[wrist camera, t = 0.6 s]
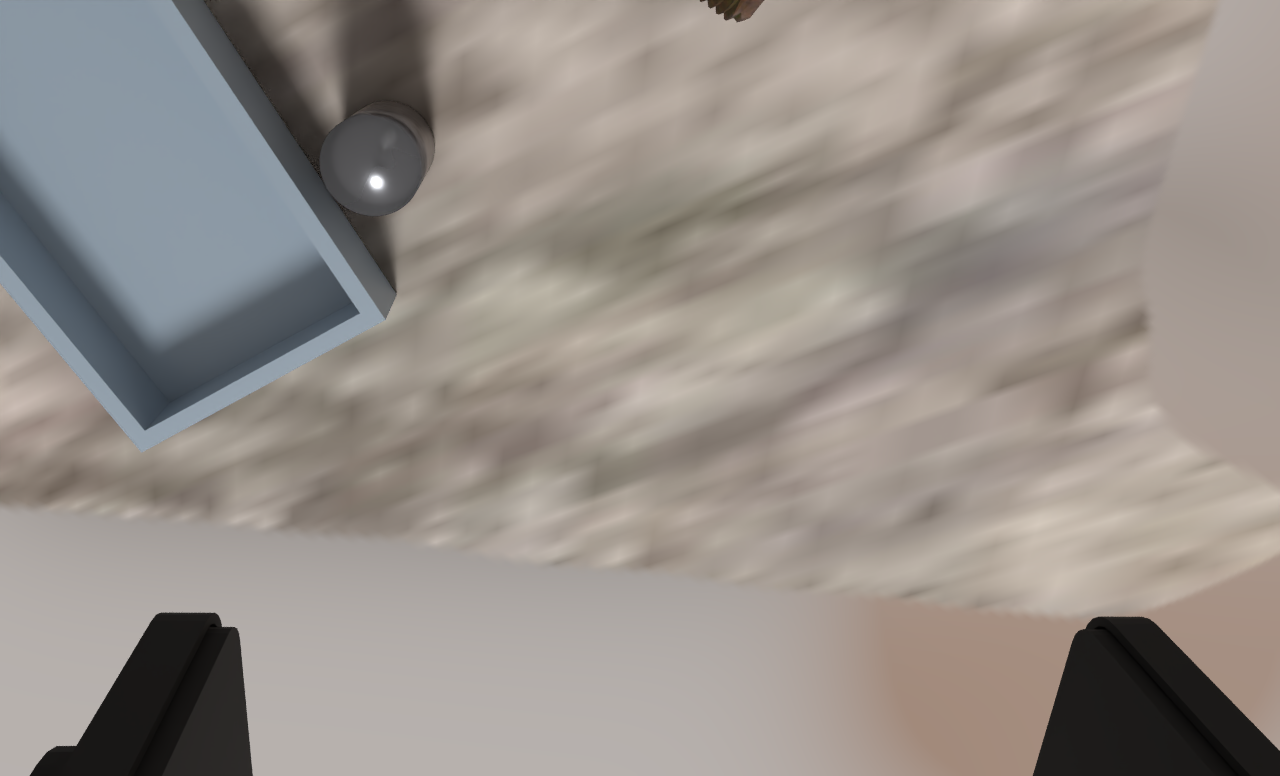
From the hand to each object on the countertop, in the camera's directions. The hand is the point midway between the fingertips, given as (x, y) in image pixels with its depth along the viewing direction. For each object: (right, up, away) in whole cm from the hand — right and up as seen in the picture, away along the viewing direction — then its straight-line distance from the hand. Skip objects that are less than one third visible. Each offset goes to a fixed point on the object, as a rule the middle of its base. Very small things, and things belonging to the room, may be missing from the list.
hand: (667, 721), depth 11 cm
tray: (-18, +13, +22) cm, 31 cm away
